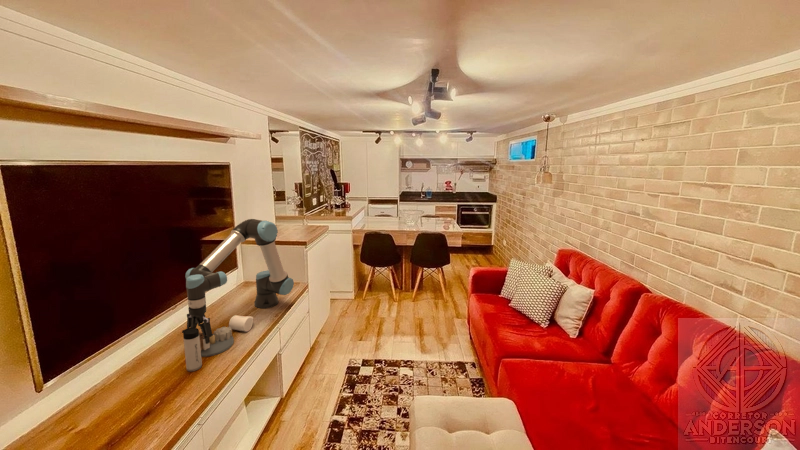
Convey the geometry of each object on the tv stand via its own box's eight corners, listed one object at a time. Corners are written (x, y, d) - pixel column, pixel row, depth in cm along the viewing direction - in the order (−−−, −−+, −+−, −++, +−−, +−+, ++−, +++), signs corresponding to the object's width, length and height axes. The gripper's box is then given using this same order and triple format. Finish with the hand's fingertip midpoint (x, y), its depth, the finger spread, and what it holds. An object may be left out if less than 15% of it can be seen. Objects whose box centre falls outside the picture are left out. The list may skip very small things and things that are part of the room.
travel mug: (187, 365, 155) (183, 327, 151) (203, 362, 158) (199, 325, 154) (184, 373, 150) (180, 334, 146) (200, 370, 152) (197, 331, 148)
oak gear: (202, 340, 171) (201, 329, 169) (213, 344, 167) (213, 333, 166) (187, 348, 163) (185, 337, 162) (198, 353, 160) (197, 341, 159)
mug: (244, 334, 184) (243, 321, 182) (229, 331, 186) (228, 319, 184) (257, 324, 195) (256, 312, 194) (243, 321, 197) (242, 309, 196)
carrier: (217, 331, 185) (216, 321, 184) (243, 340, 178) (242, 330, 177) (181, 350, 166) (180, 339, 165) (208, 360, 159) (207, 349, 158)
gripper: (175, 304, 161) (179, 344, 166) (205, 313, 153) (208, 355, 158) (190, 298, 168) (193, 337, 172) (219, 307, 160) (221, 347, 165)
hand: (200, 346), depth 165 cm, fingers closed on oak gear, 8 cm apart
